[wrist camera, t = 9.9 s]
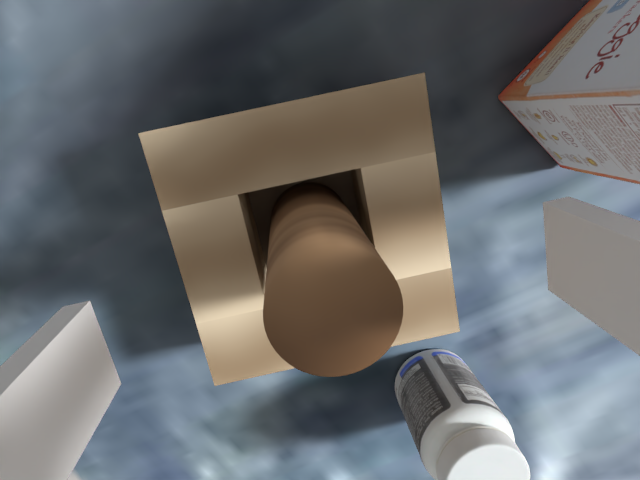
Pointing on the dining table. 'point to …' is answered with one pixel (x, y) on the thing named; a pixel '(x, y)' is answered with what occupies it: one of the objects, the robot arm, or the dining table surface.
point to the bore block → (288, 170)
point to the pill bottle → (456, 421)
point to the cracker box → (586, 92)
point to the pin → (326, 286)
